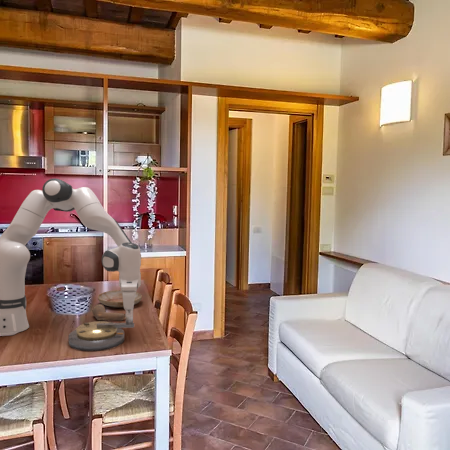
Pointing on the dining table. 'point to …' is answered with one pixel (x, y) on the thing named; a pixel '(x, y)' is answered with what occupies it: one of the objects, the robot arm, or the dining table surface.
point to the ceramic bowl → (116, 298)
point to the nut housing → (96, 342)
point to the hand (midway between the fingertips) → (129, 313)
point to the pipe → (106, 314)
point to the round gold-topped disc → (103, 328)
